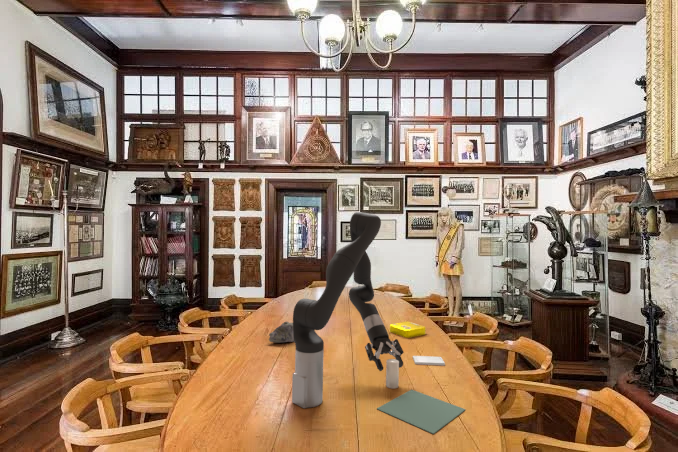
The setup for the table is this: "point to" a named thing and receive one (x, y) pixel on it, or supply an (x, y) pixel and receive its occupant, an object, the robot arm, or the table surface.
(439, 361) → the hard drive
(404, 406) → the felt mat
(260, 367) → the table surface
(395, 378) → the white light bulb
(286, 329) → the mineral rock
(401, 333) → the element tile
